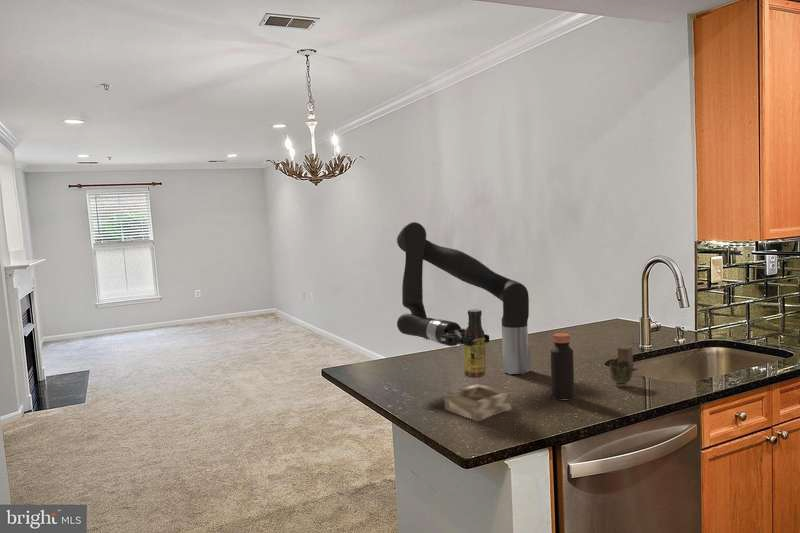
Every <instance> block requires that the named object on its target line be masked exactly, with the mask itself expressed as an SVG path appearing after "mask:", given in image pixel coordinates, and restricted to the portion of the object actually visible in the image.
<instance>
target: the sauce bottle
mask: <svg viewBox="0 0 800 533" xmlns="http://www.w3.org/2000/svg"><path fill="white" fill-rule="evenodd" d="M467 315H468V323H467V324H468V326H467V327H466V328H465V329H466V331H465V337H467V338H471V339H473V346H467V345H463V348H464V350H463V352H464V354H463V355H464V356H463V360H464V362H463V365H464V366H463V370H464V376H465V377H467V378H471V379H472V378H473V379H476V378H477V379H478V378H483V377H484V376H485V373H486V372H485V371H486V342H485V336H484V334H485V331H484V329H483V327H482V309H479V308H478V309H477V308H475V309H473V308H472V309H468V310H467ZM483 331H484V332H483Z"/></svg>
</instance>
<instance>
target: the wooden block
mask: <svg viewBox="0 0 800 533" xmlns="http://www.w3.org/2000/svg"><path fill="white" fill-rule="evenodd" d="M633 354H634V353H633V347H632V346H627V345H621V346H618V347H617V361H618V363H619V362H622V360H623V361H628V362H629V363H630V362H631V363H633V364H634V360H633V358H634V357H633Z"/></svg>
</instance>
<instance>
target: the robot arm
mask: <svg viewBox="0 0 800 533" xmlns="http://www.w3.org/2000/svg"><path fill="white" fill-rule="evenodd" d="M396 243H397V245H398V248H400V250H402V251H403V252H404V253H405V264H404V270H403V278H402V285H401V286H402V288H401V289H402V290H401V291H402V296H401V297H402V298H401V300H402V306H403V307H404V308H405V309H407V310H409V311H410V313H406V312H405V313H403V314H401V315H400V316H399V317H398V319H397V322H396V326H397V329H398V330H399V332H400V333H401V334H403V335H407V336H414V337H419V338H422V339H425V340H428V341H431V342H434V343H437V344H441V345H444V346H448V347H454V346H457V345H458V346H464V345H467V346H473V339H471V338H467V337H465V331H466V329H467V328H462V327H461V326H460V325H459V323H457V322H455V321H450V320H445V319H436V318H431V317H428V316H427V314H426V310H425V306H424V302H423V300H424V299H423V297H424V296H423V294H424V293H423V270H424V269H423V267H424V266H423V265H424V261H425V262H428V263H429V264H431V265H433V266H435V267H437V269H440V270H442V271H443V272H446V273H447V274H449V275H451V276H453V277H454V278H456V279H458V280H460V281H461V282H464V283H466V284H468V285H471V286H473V287H477V288H479V289H482V290H484V291H486V292H488V293H490V294H491V295H492V296H494V297H496V298H497V299H498V300H500V301H501V302H502V316H501V317H502V318H501V340H502V342H501V343H502V344H501V347H502V372H503V373H504V374H506V373H508V374H507V375H511V374H521V375H526V374H528V373H529V372H530V371H531V370H532V369H531V345H530V344H529V333H528V326H529V325H528V324H529V323H528V320H529V318H530V317H529V316H530V314H529V313H530V304H529V303H530V298H529V292H528V291H529V290H528V288H527V287H526V286H525V285H524V284H523V283H521V282H518V281H516V280H514V279H510V278H508V277H505V276H503V275H501V274H499V273H496V272H495V271H494V270H491V269H490V268H489V267H488V266H487V265H485V264H484V263H483V262H481V261H480V260H477V258H475V257H473V256H471V255H469V254H467V253H465V252H463V251H462V250H458V249H454V248H450V247H444V246H441V245H437V244H436V243H433V242H432V241H429V239H427V231H426V228H425V227H424V226H423V225H422V224H421V223H419V222H416V221H414V222H413V221H412V222H409V223H407V224H405V225H404V226H403V228H402V229H401V231H400V232H399V233H398V235H397V238H396ZM483 332H484V336H485V344H486V343H490V335H489V334H485V331H484V330H483ZM527 372H528V373H527ZM525 373H526V374H525Z"/></svg>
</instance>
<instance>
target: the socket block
mask: <svg viewBox="0 0 800 533" xmlns="http://www.w3.org/2000/svg"><path fill="white" fill-rule="evenodd" d="M511 396H512V394H511V393H510V392H506V391H503V390H500V389H497V388H494V387H491V386H487V385H483V384H480V383H476V384H473V385H469V386H465V387H461V388H458V389H456V390H452V391H448V392H445V393H443V398H444V399H443V400H444V411H445V410H446V411H448V412H450V413H453V414H456V415H458V416H460V415H461V417H463V416H464V417H463V418H466V417H467V418H466V419H468V418H470V419H469V420H471V419H472V420H471V421H474V420H475V421H474V422H476V421H477V422H479V421H478V420H480V421H482V420H481V419H483V420H485V419H484V418H486V417H489V416H492V415H495V414H498V413H500V412H503V411H506V410H509V409H511V410H512V399H511V398H512V397H511ZM498 415H499V414H498ZM495 416H496V415H495ZM492 417H493V416H492ZM489 418H490V417H489ZM486 419H487V418H486Z"/></svg>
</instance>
